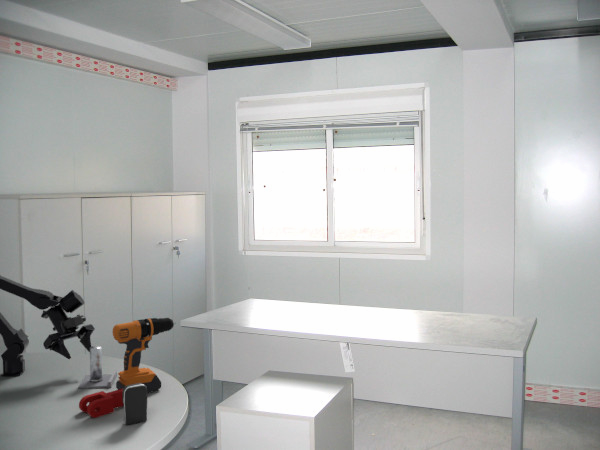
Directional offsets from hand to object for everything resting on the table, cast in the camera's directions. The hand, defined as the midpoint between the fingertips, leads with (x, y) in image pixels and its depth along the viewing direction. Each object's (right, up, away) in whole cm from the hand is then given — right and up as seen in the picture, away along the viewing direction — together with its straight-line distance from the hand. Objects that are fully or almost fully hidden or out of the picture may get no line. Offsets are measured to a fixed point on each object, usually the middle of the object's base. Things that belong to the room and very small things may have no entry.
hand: (80, 355), depth 214 cm
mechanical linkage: (+18, -12, -26) cm, 34 cm away
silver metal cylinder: (+7, -8, -3) cm, 11 cm away
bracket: (+7, -9, -3) cm, 12 cm away
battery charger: (+29, -13, -35) cm, 47 cm away
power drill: (+26, -10, -10) cm, 29 cm away
